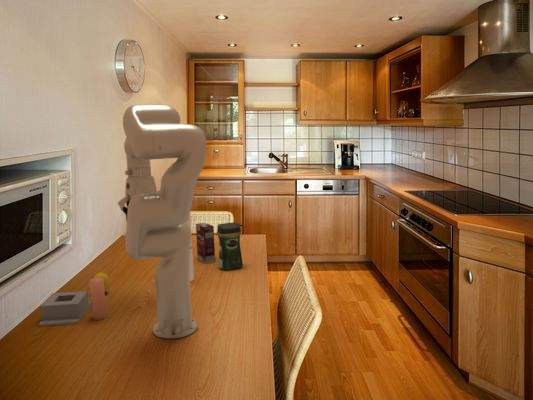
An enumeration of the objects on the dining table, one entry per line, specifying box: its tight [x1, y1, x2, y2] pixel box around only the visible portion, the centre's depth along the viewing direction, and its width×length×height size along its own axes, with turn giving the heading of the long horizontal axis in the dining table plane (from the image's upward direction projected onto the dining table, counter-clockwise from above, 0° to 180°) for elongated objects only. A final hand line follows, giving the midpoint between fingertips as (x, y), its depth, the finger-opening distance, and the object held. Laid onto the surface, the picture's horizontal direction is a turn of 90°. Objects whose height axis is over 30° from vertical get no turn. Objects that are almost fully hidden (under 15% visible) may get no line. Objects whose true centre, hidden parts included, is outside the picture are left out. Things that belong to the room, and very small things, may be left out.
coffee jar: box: [216, 221, 244, 271], centre depth 189 cm, size 10×8×19 cm
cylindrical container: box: [185, 214, 195, 282], centre depth 174 cm, size 7×7×25 cm
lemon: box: [93, 271, 110, 292], centre depth 163 cm, size 6×6×8 cm
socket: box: [38, 290, 92, 327], centre depth 146 cm, size 16×11×5 cm
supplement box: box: [195, 222, 216, 264], centre depth 199 cm, size 9×5×16 cm, turn 33°
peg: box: [89, 277, 108, 321], centre depth 142 cm, size 4×4×12 cm
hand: (143, 223), depth 157 cm, fingers open, 9 cm apart
